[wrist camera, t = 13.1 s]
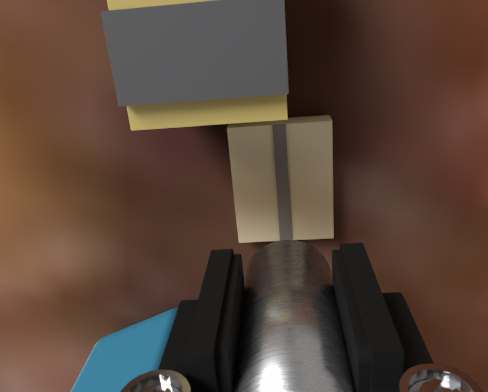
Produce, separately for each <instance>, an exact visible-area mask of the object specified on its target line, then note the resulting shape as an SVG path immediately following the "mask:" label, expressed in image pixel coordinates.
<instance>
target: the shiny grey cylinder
mask: <svg viewBox="0 0 488 392" xmlns="http://www.w3.org/2000/svg"><path fill="white" fill-rule="evenodd" d="M244 286H245V291H244V300H243V309H242V318H241V328H240V337H239V346H238V355H237V364H236V373H235V382H234V391H233V392H355V387H354V383H353V378H352V373H351V369H350V364H349V359H348V355H347V350H346V345H345V341H344V336H343V331H342V327H341V322H340V317H339V313H338V308H337V303H336V299H335V294H334V289H333V280H332V276H331V271H330V267H329V264H328V262H327V260H326V259H325V257H324V256H323V255H322V254H321V253H320V252H319V251H318V250H317V249H316V248H314V247H313V246H311V245H309V244H307V243H304V242H301V241H296V240H280V241H276V242H272V243H270V244H267V245H266V246H264V247H262V248H261V249H259V250H258V251H257V252H256V253H255V254H254V255H253V256H252V258H251V259H250V261H249V263H248V266H247V269H246V276H245V285H244Z"/></svg>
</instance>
